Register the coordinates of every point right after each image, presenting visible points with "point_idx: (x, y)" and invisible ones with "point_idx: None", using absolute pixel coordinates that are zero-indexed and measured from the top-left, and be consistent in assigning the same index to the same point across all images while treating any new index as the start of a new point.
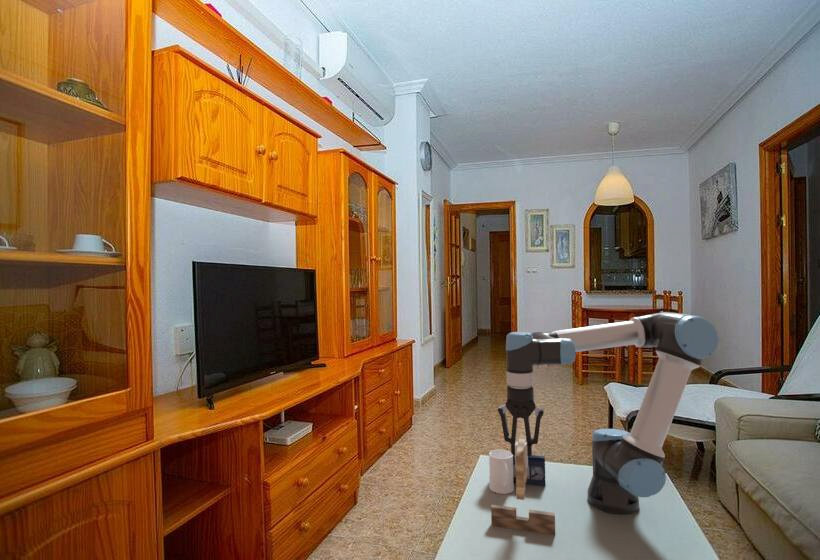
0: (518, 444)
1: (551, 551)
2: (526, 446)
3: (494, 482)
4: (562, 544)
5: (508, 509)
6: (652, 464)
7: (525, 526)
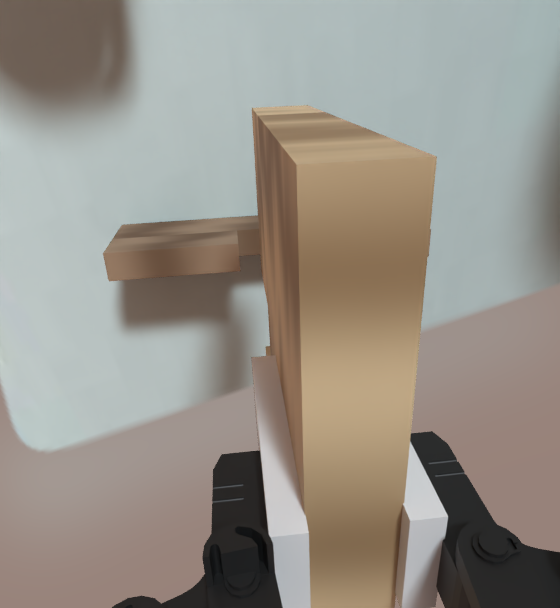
0: (314, 548)
1: None
2: (424, 603)
3: None
4: None
5: (201, 273)
6: None
7: None
